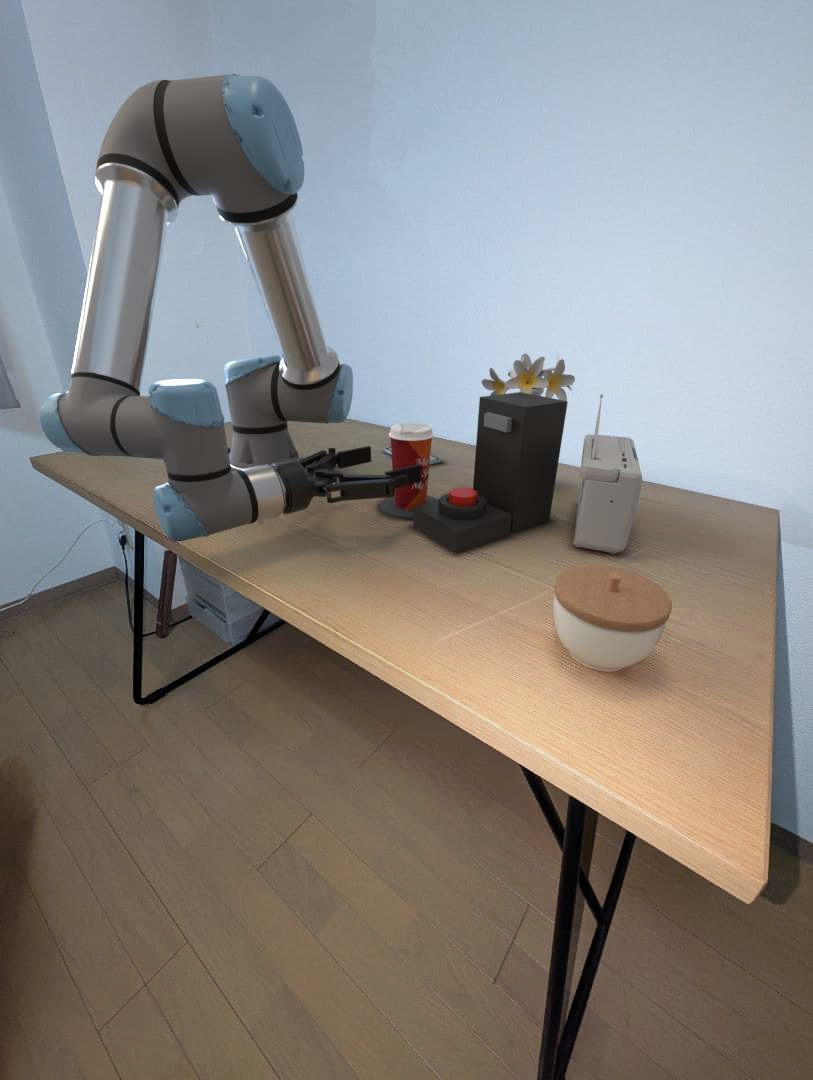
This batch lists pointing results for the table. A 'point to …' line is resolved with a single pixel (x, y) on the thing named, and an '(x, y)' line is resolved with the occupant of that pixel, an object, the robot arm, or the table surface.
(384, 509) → the coaster
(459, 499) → the coffee button
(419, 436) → the paper cup
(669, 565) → the table surface
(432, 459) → the smartphone
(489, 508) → the base
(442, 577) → the table surface
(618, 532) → the radio
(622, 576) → the trinket box
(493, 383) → the flower vase
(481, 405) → the tank
